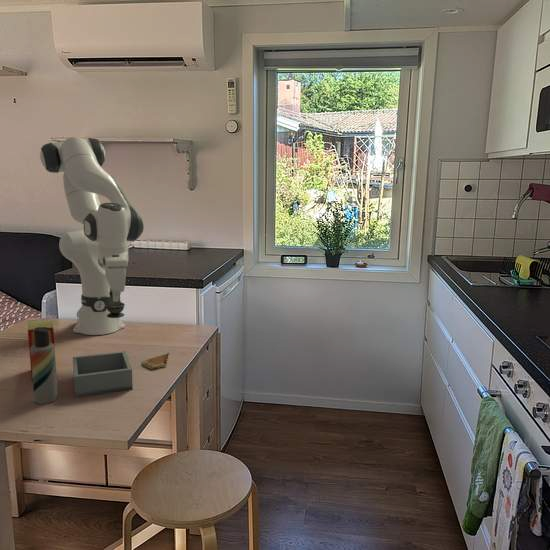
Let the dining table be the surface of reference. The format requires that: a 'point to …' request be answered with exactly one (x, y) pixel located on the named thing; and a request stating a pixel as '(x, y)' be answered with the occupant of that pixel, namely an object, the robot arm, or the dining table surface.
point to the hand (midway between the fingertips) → (115, 299)
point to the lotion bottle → (43, 367)
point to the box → (102, 373)
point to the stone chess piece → (115, 307)
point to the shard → (156, 361)
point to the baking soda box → (35, 324)
